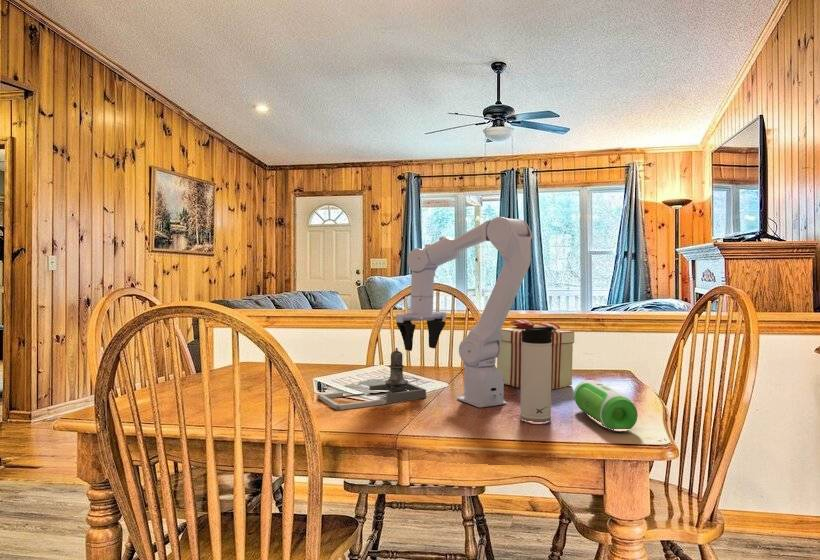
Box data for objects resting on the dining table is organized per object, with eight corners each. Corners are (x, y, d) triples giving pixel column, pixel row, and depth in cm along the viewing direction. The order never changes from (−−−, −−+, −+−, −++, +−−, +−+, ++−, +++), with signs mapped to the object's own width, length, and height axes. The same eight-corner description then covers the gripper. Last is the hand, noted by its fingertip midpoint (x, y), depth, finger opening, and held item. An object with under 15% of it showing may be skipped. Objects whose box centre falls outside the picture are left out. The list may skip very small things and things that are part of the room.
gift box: (581, 384, 156) (582, 321, 156) (539, 394, 144) (540, 326, 144) (531, 374, 169) (532, 316, 169) (489, 383, 157) (489, 320, 157)
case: (426, 397, 140) (426, 389, 140) (387, 402, 135) (387, 394, 135) (405, 389, 149) (405, 381, 149) (369, 393, 144) (369, 385, 144)
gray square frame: (385, 403, 134) (385, 399, 134) (337, 410, 128) (337, 405, 128) (364, 393, 144) (364, 389, 144) (318, 398, 139) (318, 394, 139)
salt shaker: (408, 398, 139) (408, 349, 139) (383, 398, 139) (383, 349, 139) (408, 393, 145) (408, 345, 145) (385, 392, 145) (385, 345, 145)
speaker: (571, 411, 129) (571, 378, 129) (602, 410, 129) (603, 377, 129) (603, 435, 111) (604, 397, 111) (639, 434, 112) (640, 396, 112)
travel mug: (546, 426, 116) (548, 328, 116) (515, 421, 120) (517, 326, 119) (556, 419, 122) (557, 325, 121) (526, 415, 125) (527, 323, 124)
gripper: (435, 294, 154) (433, 344, 155) (389, 295, 146) (388, 348, 147) (451, 296, 148) (450, 348, 149) (405, 297, 140) (404, 353, 141)
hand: (420, 349), depth 148 cm, fingers open, 7 cm apart
